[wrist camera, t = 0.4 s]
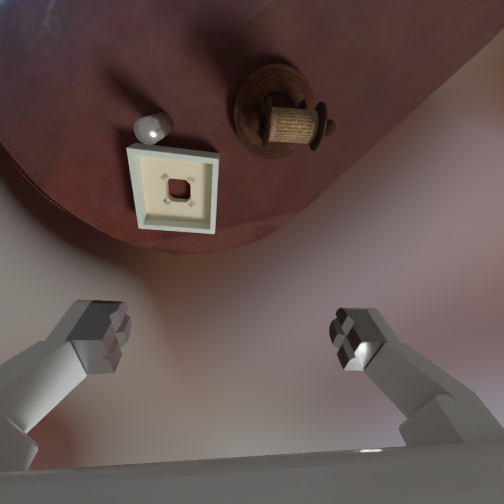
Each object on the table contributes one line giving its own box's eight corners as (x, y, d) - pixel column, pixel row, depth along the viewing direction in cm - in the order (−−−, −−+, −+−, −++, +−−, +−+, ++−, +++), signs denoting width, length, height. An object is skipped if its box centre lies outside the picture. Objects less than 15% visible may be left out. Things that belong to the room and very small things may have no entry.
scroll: (232, 153, 47) (234, 186, 31) (234, 60, 39) (238, 38, 23) (302, 157, 49) (339, 191, 33) (318, 69, 41) (379, 53, 24)
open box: (135, 142, 45) (126, 147, 41) (219, 153, 47) (218, 159, 43) (145, 217, 54) (138, 228, 50) (215, 223, 56) (214, 233, 52)
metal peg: (152, 110, 42) (132, 116, 33) (173, 113, 43) (158, 119, 34) (154, 132, 44) (135, 143, 35) (174, 135, 45) (160, 146, 36)
